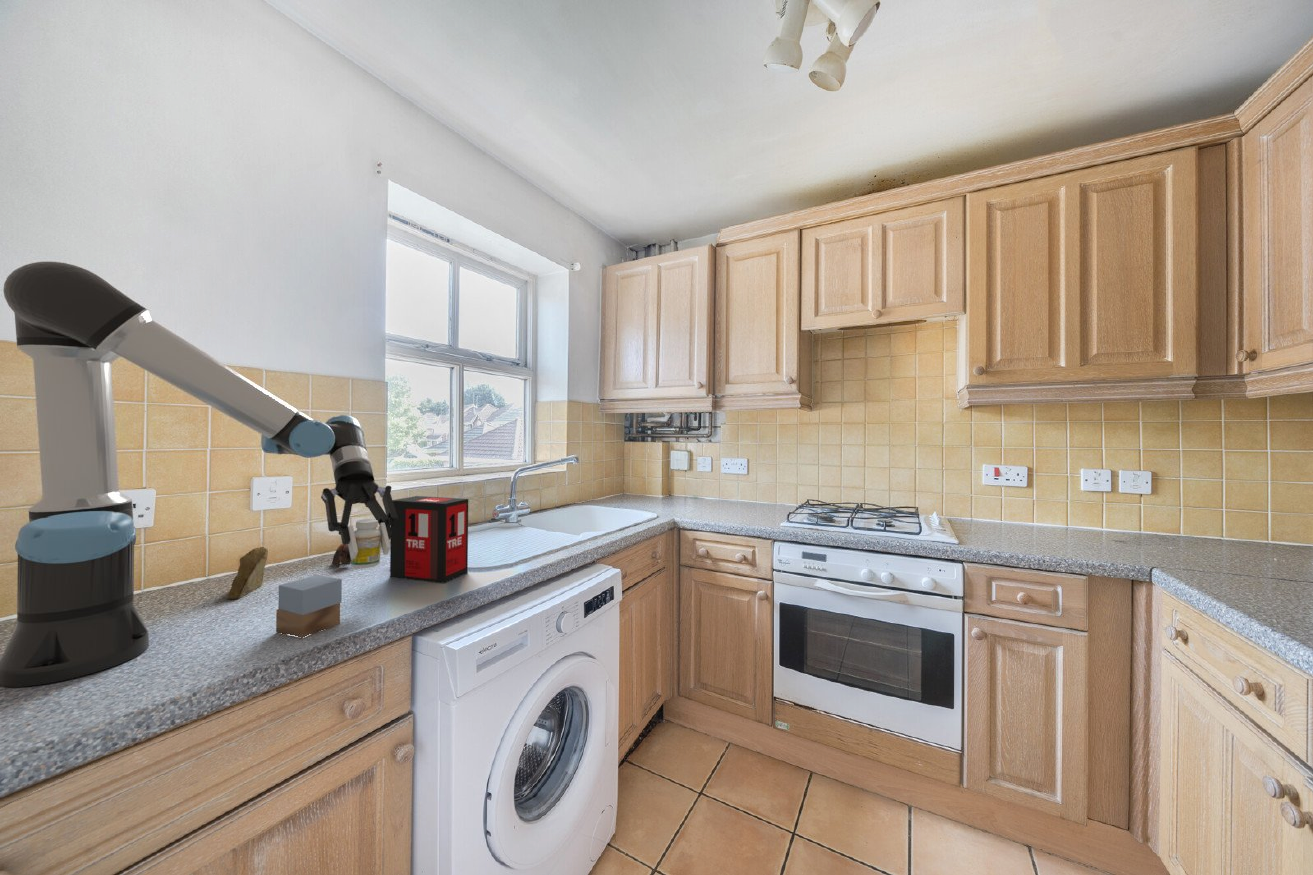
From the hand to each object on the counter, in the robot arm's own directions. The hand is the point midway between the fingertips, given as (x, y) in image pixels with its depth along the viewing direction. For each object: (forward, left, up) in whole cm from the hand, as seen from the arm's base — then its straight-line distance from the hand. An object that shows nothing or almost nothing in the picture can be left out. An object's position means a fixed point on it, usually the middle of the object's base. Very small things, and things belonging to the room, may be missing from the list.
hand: (371, 552), depth 96 cm
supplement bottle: (+1, +3, -4) cm, 5 cm away
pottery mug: (+24, +36, -13) cm, 45 cm away
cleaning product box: (+23, +7, -13) cm, 27 cm away
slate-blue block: (-10, +3, -8) cm, 13 cm away
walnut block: (-10, +3, -12) cm, 16 cm away
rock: (-2, +37, -13) cm, 40 cm away
